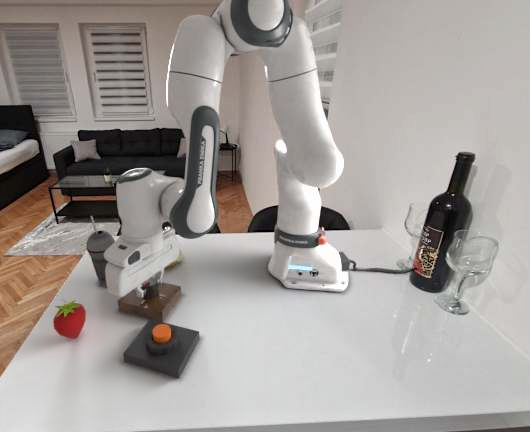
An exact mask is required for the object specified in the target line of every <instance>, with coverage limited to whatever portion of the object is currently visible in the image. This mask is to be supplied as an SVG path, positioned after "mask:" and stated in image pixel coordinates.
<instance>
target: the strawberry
mask: <svg viewBox="0 0 530 432" xmlns="http://www.w3.org/2000/svg"><path fill="white" fill-rule="evenodd" d="M61 301H62V302H64V303H63V305H55V306H54V307H55V308H57V309H58V311H57V312H56V314H55V315H54V317H53V321H52V322H53V323H52V324H53V329H54V330H55V331H56V333H57V334H58V335H59V336H61V337H65V338H68V339H73V340H74V339H78V337H79V336H80V334H81V332H82V330H83V328H84V326H85V323H86V319H87V318H86V316H87V312H86V308H85V307H84V306H83V304H81V303H79V302H76V299H74V300H72V301H71V302H68V301H66V300H63V299H61ZM66 303H67V304H66Z"/></svg>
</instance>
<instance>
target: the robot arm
mask: <svg viewBox="0 0 530 432" xmlns="http://www.w3.org/2000/svg"><path fill="white" fill-rule="evenodd" d="M310 34H311V33H310V32H309V29H308V25H307V24H306V22H305V21H304V20H303V18H301V17H298V16H294V12H293V10H292V8H291V6H290V3H289V0H222V1H221V2H220V4H219V5H218V6H217V7H216V8H215V9H214V10H213V11H212V13H211V15H210V16H209V15H204V14H192V15H188V16H187V17H185V18H184V19H182V20H181V22H180V23H179V25H178V27H177V31H176V34H175V38H174V41H173V44H172V49H171V52H170V59H169V64H168V70H167V78H166V105H167V109H168V111H169V112H170V114H171V115H172V118H173V119H174V120H175V121H176V122H177V124H178V125H179V127H180V129H181V131H182V133H183V136H184V139H185V145H186V155H185V158H186V159H185V168H184V178H181V177H177V176H167V175H164V174H161V173H158V172H156V171H154V170H153V169H151V168H148V167H137V168H133V169H129V170H128V171H125V172H124V173H122V174H121V175H120V176H119V177H118V179H117V182H116V186H115V192H116V193H115V196H116V207H117V214H118V216H119V218H120V220H121V228H120V232H121V234H120V235H119V236H118V238H117V239H116V240H115V242H114V243H113V244H112V245H111V246H110V247H109V248H108V249H107V250H106V251H105V252H104V258H105V259H106V260H107V261H109V262H108V263H107V265H106V268H105V275H106V283H107V287H106V288H107V291H108V292H109V294H111V295H112V296H115V297H117V298H119V299H120V298H122V297H124V296H125V295H126V294H128V293H129V292H131V291H132V290H133V289H135V290H136V293H137V296H138V297H140V298H143V297H144V296H145V295H146V289H143V288H142V283H143V282H145V281H146V280H148V279H149V278H150V277H154V278H156V279H157V284H158V286H159V285H160V284H161V283H162V282H163V277H164V276H163V275H164V274H165V269H164V268H165V267H166V266H167V265H169V264H170V263H172V262H173V261H175V260H176V259H177V258H178V256H179V249H180V246H179V242H178V238H177V236H176V235H178V236H179V237H181V238H183V239H186V240H195V239H198V238H202V237H204V236H206V235H207V234H208V233H209V232H210V231H211V230H212V229H213V228H214V227H215V225H216V223H217V220H218V218H219V214H220V213H219V204H218V198H217V176H218V168H219V167H218V166H219V165H218V164H219V156H220V155H219V154H220V144H221V143H220V142H221V120H220V100H221V93H222V86H223V85H222V84H223V80H224V74H225V73H224V72H225V68H226V64H227V62H228V60H229V58H230V57H238V56H241V55H245V54H249V53H252V52H255V53H256V54H257V55H258V56H259V59H260V60H261V62H262V65H263V68H264V75H265V80H266V85H267V90H268V95H269V100H270V106H271V111H272V115H273V118H274V121H275V123H276V124H277V127H278V130H279V132H280V134H281V135H280V136H279V137H278V138H277V139H276V141H275V143H274V144H273V145H274V146H273V154H274V157H275V158H274V159H275V167H276V182H277V193H278V205H277V218H276V219H277V220H276V223H275V225H274V232H273V242H274V246H273V251H272V254H271V257H270V260H269V262H268V265H267V269H268V272H269V273H270V275H272V277H274V278H276V279H277V280H279V281H280V282H281V283H282V285H283V286H284V287H285V288H287V289H296V290H308V291H310V290H311V291H322V292H336V293H337V292H338V293H341V292H344V291H345V290H346V289H347V287H348V284H349V270H350V267H351V264H353V265H352V269H353V270H354V271H356V272H375V271H376V272H387V273H395V274H397V273H399V274H400V273H401V274H402V273H407V272H410V271H412V270H411V267H412V266H411V267H408V268H404V269H392V268H384V267H383V268H382V267H369V268H358V267H357V262H356V261H355V260H353V259H350V258H348V256H347V255H346V253H344V251H338V250H337V249H336V248H335V247H334V246H332V245H331V244H329V243H328V242H327V237H326V232H325V228H324V227H323V226H322V227H320V226H319V224H320V223H319V222H320V216H321V210H322V209H321V208H322V200H321V195H320V192H319V189H323V188H324V189H325V188H327V187H330V186H331V185H333V184H334V183H336V182H337V181H338V179H339V178H340V177H341V175H342V174H343V172H344V171H343V170H344V167H345V166H344V165H345V163H344V157H343V155H342V153H341V151H340V150H339V148H338V146H337V144H336V143H335V141H334V138H333V135H332V132H331V129H330V125H329V123H328V120H327V117H326V113H325V110H324V107H323V102H322V96H321V90H320V89H321V88H320V82H319V74H318V68H317V67H318V66H317V61H316V60H317V59H316V55H315V54H316V53H315V50H314V49H315V48H314V45H313V41H312V38H311V35H310ZM167 222H168V223H169V224H170V225H169V226H166V227H164V228H163V224H165V223H167Z"/></svg>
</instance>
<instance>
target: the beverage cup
mask: <svg viewBox="0 0 530 432" xmlns="http://www.w3.org/2000/svg"><path fill="white" fill-rule="evenodd" d="M90 220H91V224H92V227H93V229H94V232H92V233H91V234H90V235H89V236H88V238H87V240H86V248H85V249H86V251H87V253H88V255H89V257H90V259H91V262H92V265H93V268H94V269H93V270H94V272H95V274H96V278H97V280H98V283H99V285H100V286H101V287H102V288H103V287H104V288H107V283H106V275H105V268H106V265H107V263H108V262H109V261H107V260H106V259H105V258H104V252H105V251H106V250H107V249H108V248H109V247H110V246H111V245H112V244H113V243H114V242H115V241H116V240H115V238H114V237H113V235H112V234H111V233H110V232H108V231H107V230H98V229H97V226H96V224H95V220H94V216H93V215H90Z"/></svg>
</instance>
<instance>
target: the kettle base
mask: <svg viewBox="0 0 530 432" xmlns="http://www.w3.org/2000/svg"><path fill="white" fill-rule="evenodd" d="M160 324H166V325H168V326H169V327H170V329H171V338H170V340H169V341H168V342H166V343H162V344H158V343H156V342H154V340H153V334H152V331H153V329H154V328H155V327H156V326H157V325H160ZM200 339H201V337H200V331H198V330H194V329H190V328H187V327H182V326H180V325H175V324H171V323H167V322H165V321H163V322H161V321H157V320H153V319H148V321H147V322H146V323H145V325H144V326H143V327H142V329H140V330H139V333H137V335H136V336H135V337H134V339H133V341H132V342H131V343H130V344H129V346H128V347H127V348H126V349H125V350H124V352H123V360H124V362H125V363H128V364H132V365H135V366H138V367H141V368H144V369H147V370H151V371H154V372H158V373H161V374H164V375H167V376H170V377H173V378H176V379H180V378H181V376H182V374H183V372H184V370H185V368H186V366H187V364H188V362H189V361H190V359H191V357H192V354H193V353H194V351H195V349H196V347H197V345H198V343H199V341H200Z"/></svg>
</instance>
